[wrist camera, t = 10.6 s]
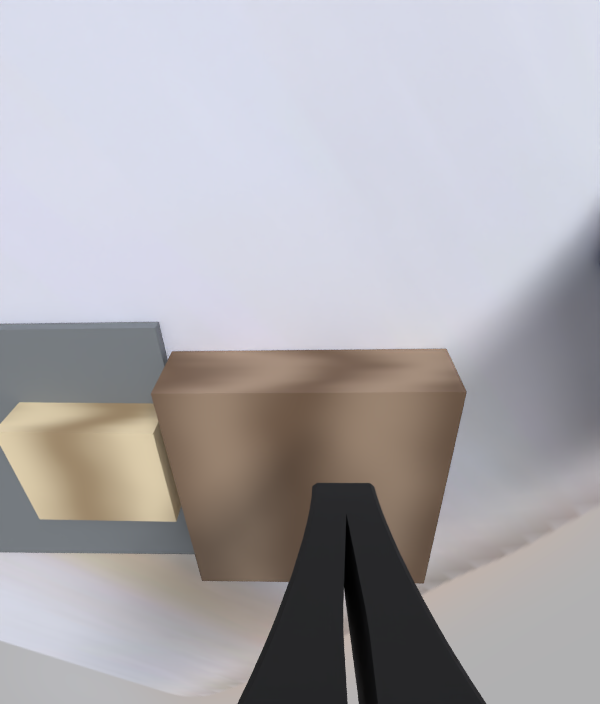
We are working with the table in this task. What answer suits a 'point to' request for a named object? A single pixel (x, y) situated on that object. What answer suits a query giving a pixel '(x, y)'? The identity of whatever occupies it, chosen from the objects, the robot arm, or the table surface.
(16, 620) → the table surface
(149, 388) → the charcoal mat
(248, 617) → the table surface
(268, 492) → the block
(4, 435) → the birch tile
